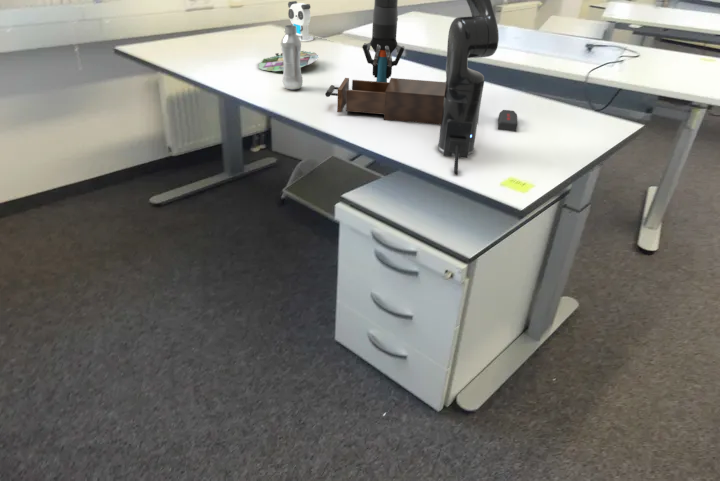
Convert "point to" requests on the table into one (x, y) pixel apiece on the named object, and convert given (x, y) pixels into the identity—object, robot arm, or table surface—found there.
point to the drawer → (360, 96)
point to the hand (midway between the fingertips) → (381, 77)
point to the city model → (277, 61)
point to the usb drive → (507, 120)
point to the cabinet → (414, 101)
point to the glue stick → (382, 67)
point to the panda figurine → (300, 19)
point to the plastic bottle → (291, 58)
